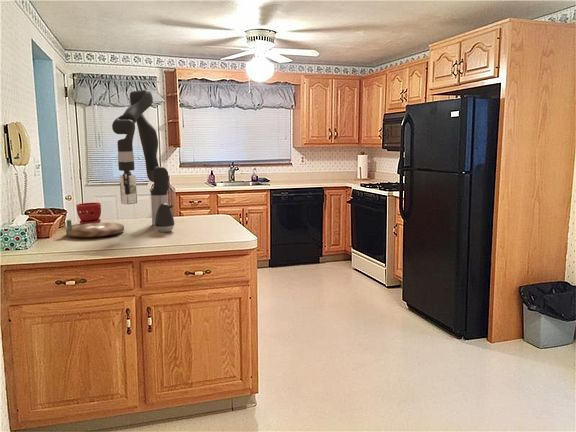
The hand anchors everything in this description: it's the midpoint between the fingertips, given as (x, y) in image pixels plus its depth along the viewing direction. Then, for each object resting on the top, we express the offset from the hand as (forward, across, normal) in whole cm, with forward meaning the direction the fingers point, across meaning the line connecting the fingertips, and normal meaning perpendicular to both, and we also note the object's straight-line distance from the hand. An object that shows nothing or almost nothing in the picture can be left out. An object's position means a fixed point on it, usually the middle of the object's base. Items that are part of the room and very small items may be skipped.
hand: (128, 193), depth 236 cm
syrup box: (+5, 0, 0) cm, 5 cm away
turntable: (+20, -10, -18) cm, 29 cm away
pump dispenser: (+22, -8, +17) cm, 29 cm away
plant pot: (+22, -42, -26) cm, 54 cm away
